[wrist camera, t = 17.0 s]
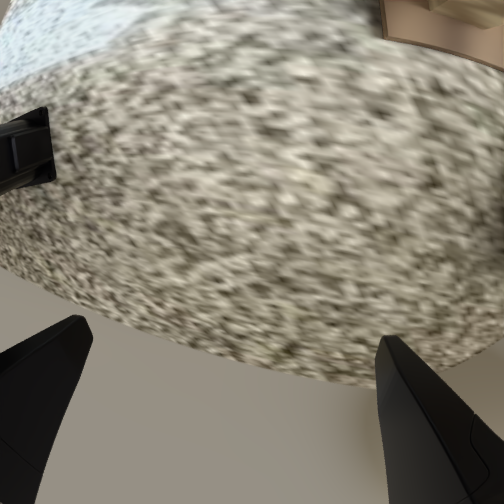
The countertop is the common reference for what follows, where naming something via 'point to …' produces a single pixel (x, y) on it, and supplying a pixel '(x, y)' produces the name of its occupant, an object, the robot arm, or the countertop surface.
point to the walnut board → (441, 32)
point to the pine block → (471, 11)
